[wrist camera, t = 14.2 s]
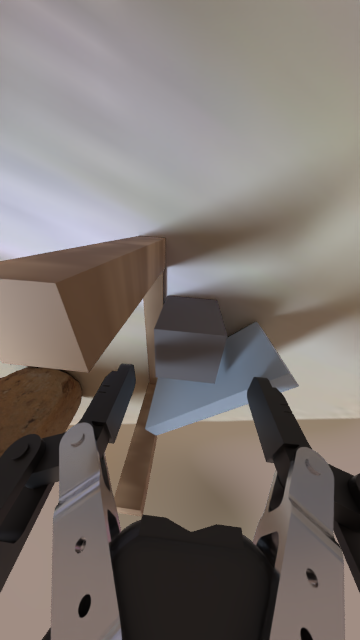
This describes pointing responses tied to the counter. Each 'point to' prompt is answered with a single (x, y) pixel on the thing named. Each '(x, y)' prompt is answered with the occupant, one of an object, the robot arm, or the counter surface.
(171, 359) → the gray rectangular block
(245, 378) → the door
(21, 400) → the brown bread loaf
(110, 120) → the counter surface
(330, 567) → the robot arm
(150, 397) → the frame
